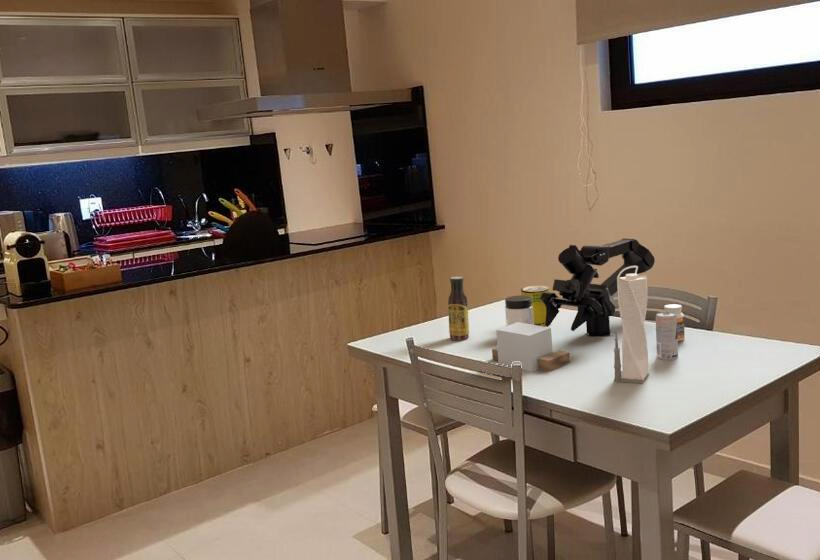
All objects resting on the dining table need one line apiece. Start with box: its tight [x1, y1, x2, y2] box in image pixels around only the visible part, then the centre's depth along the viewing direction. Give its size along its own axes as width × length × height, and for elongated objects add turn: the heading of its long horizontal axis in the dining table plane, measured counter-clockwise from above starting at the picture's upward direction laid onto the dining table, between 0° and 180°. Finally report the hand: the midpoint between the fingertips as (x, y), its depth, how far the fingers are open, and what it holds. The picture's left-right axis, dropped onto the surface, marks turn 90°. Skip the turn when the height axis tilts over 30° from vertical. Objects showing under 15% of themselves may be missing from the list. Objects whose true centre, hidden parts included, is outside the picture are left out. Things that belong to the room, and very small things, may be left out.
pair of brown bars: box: [491, 346, 571, 373], centre depth 211 cm, size 9×20×3 cm, turn 40°
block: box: [495, 322, 554, 372], centre depth 209 cm, size 9×12×10 cm
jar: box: [504, 294, 534, 326], centre depth 236 cm, size 9×8×12 cm
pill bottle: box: [663, 303, 685, 342], centre depth 217 cm, size 6×6×10 cm
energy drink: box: [655, 311, 679, 361], centre depth 202 cm, size 5×5×12 cm
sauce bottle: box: [447, 276, 470, 341], centre depth 239 cm, size 6×6×20 cm
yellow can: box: [520, 285, 552, 327], centre depth 248 cm, size 9×9×12 cm
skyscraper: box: [613, 266, 650, 385], centre depth 188 cm, size 8×8×28 cm
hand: (559, 328), depth 218 cm, fingers open, 9 cm apart
